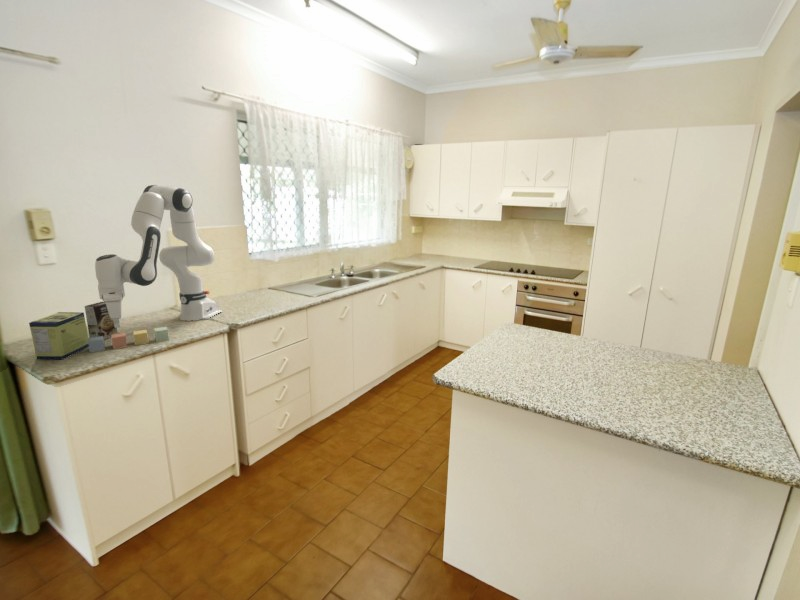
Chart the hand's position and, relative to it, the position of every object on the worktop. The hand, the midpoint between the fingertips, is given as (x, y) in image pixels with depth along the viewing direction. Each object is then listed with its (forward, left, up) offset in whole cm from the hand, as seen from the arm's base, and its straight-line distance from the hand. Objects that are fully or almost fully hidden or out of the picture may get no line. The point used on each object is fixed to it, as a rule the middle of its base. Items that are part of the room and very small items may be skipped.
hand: (116, 324), depth 173 cm
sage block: (-13, +9, -10) cm, 19 cm away
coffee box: (-6, -17, -10) cm, 21 cm away
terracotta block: (0, -1, -10) cm, 10 cm away
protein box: (+13, -14, -10) cm, 22 cm away
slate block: (+6, -5, -10) cm, 13 cm away
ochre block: (-7, +4, -10) cm, 13 cm away
